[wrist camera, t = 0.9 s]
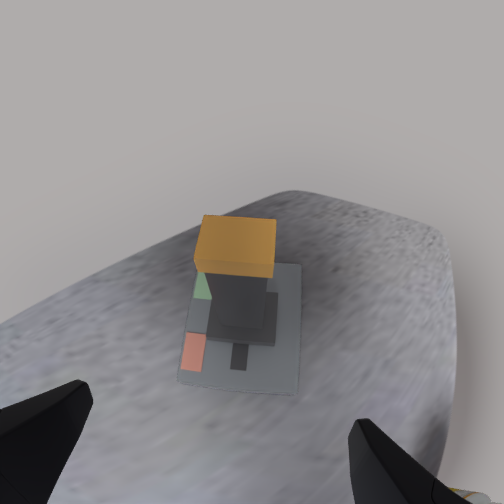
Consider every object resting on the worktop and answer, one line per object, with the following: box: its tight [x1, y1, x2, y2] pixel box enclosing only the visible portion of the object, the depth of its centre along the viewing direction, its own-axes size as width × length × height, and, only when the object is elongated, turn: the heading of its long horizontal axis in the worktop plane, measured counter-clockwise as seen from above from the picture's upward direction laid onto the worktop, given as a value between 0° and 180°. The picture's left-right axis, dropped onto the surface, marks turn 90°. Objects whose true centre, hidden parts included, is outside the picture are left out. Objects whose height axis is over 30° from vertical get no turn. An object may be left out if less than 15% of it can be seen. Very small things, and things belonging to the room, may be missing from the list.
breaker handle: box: [193, 215, 278, 346], centre depth 17 cm, size 4×5×11 cm
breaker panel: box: [176, 262, 302, 395], centre depth 22 cm, size 11×9×2 cm
